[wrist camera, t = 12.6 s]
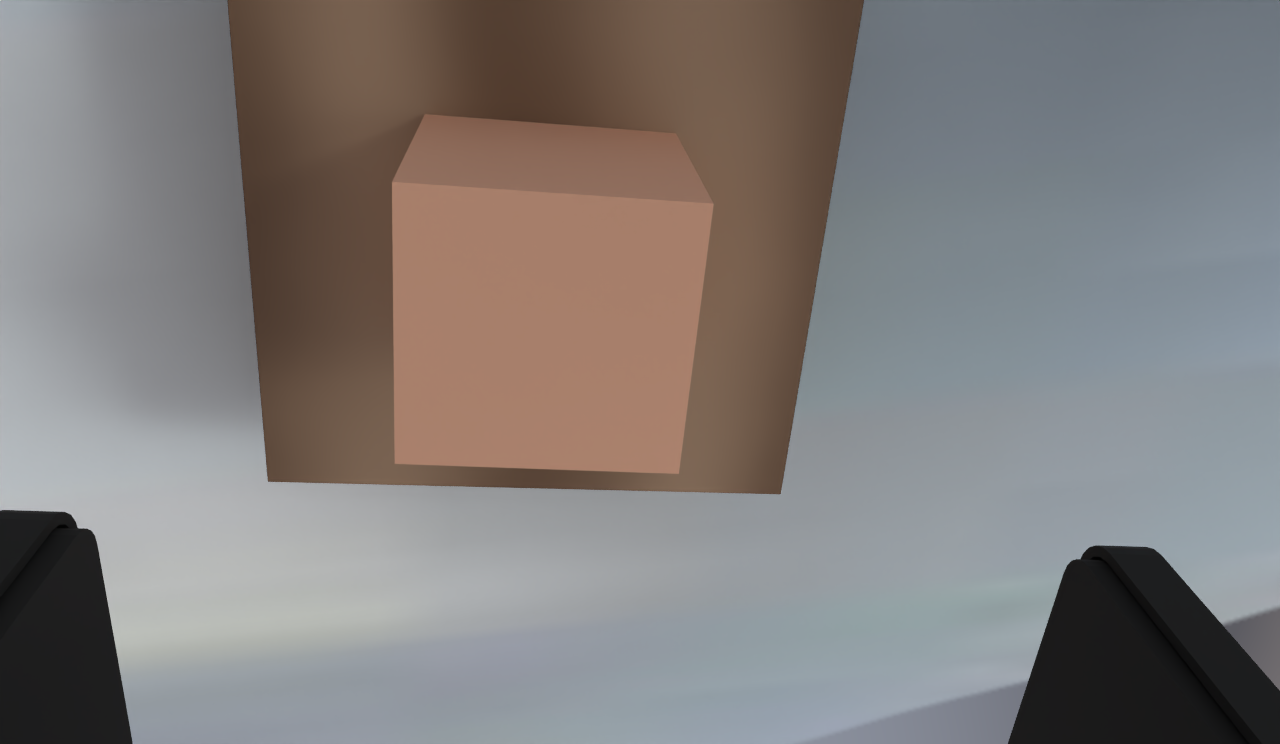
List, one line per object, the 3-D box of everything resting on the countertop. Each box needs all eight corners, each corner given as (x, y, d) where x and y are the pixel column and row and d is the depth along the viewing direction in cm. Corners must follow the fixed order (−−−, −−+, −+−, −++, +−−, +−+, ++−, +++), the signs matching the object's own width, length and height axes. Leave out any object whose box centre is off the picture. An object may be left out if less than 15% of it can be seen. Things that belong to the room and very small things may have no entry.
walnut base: (818, -50, 23) (870, -37, 20) (749, 415, 28) (780, 494, 25) (272, -99, 22) (219, -94, 18) (304, 401, 27) (267, 481, 23)
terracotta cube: (676, 133, 21) (713, 203, 16) (651, 357, 23) (678, 473, 18) (424, 114, 20) (392, 182, 16) (424, 345, 22) (394, 464, 18)
